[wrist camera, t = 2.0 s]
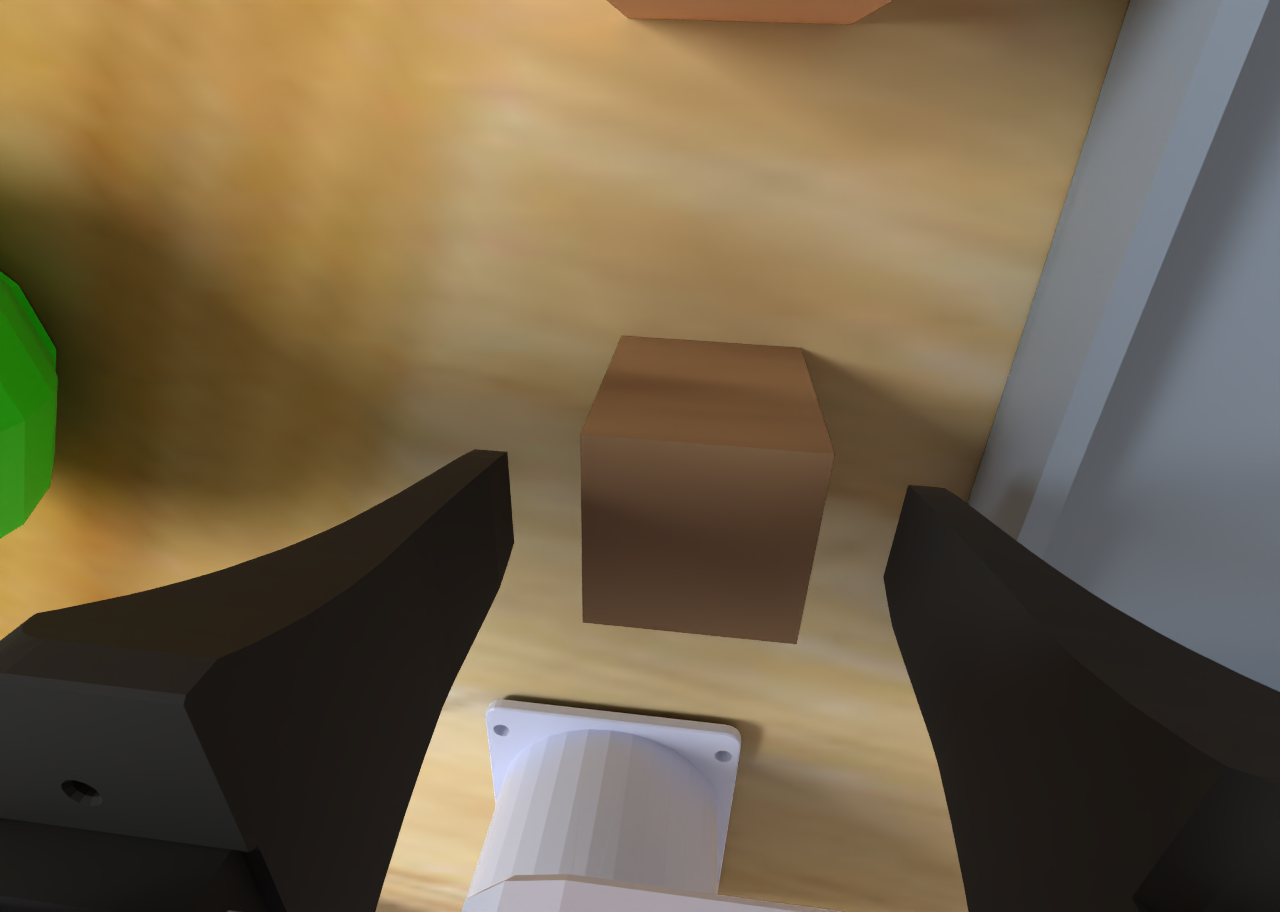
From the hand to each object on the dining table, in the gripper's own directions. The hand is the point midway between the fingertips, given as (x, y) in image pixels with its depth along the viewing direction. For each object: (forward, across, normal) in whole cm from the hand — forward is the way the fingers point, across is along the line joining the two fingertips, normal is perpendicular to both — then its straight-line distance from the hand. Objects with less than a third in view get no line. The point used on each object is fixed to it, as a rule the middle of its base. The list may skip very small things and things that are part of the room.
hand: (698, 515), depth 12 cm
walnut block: (+4, 0, 0) cm, 4 cm away
